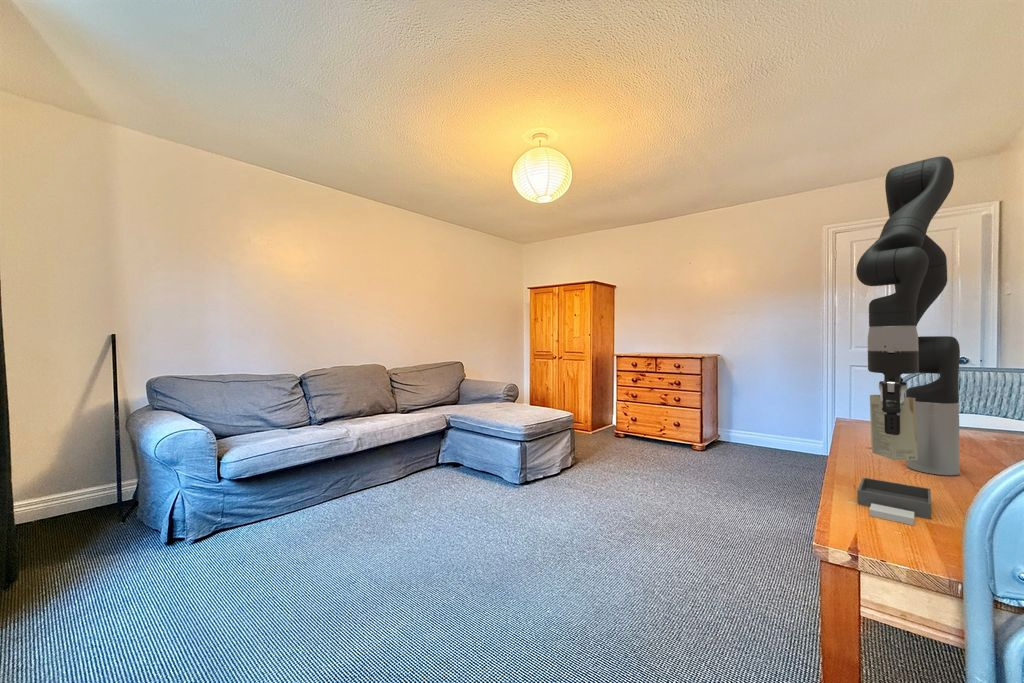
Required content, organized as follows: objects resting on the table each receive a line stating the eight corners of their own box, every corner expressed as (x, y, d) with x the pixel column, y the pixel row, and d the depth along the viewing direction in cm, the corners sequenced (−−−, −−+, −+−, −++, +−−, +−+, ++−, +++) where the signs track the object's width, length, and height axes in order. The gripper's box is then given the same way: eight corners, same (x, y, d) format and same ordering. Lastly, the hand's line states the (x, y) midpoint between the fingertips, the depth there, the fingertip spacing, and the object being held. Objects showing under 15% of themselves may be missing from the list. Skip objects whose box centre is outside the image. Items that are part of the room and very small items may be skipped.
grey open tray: (863, 490, 90) (862, 477, 90) (930, 502, 83) (930, 488, 83) (854, 512, 79) (854, 497, 79) (931, 529, 72) (931, 513, 72)
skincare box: (919, 461, 80) (918, 398, 80) (894, 461, 80) (893, 398, 80) (892, 452, 86) (891, 393, 86) (869, 452, 87) (868, 393, 87)
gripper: (870, 348, 91) (871, 423, 91) (864, 349, 81) (865, 434, 81) (918, 348, 85) (919, 428, 85) (918, 349, 75) (919, 440, 75)
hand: (893, 430), depth 83 cm, fingers closed on skincare box, 7 cm apart
